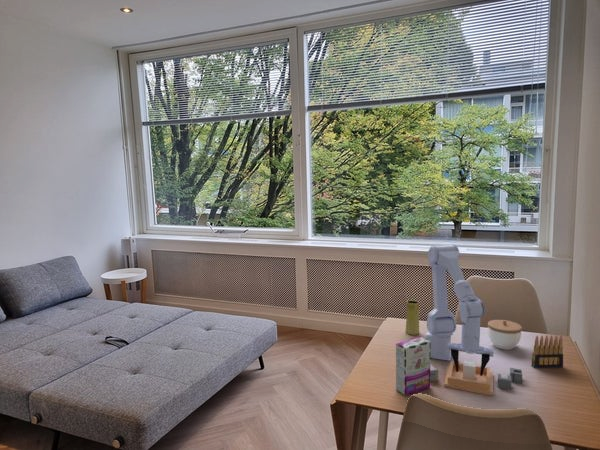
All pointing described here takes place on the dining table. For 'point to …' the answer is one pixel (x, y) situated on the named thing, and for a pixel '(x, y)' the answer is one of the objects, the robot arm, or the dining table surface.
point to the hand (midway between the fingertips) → (469, 372)
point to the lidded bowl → (504, 333)
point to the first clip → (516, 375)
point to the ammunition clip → (548, 353)
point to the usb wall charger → (433, 373)
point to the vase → (412, 317)
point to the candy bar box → (413, 365)
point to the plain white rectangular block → (469, 370)
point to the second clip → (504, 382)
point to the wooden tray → (479, 385)
